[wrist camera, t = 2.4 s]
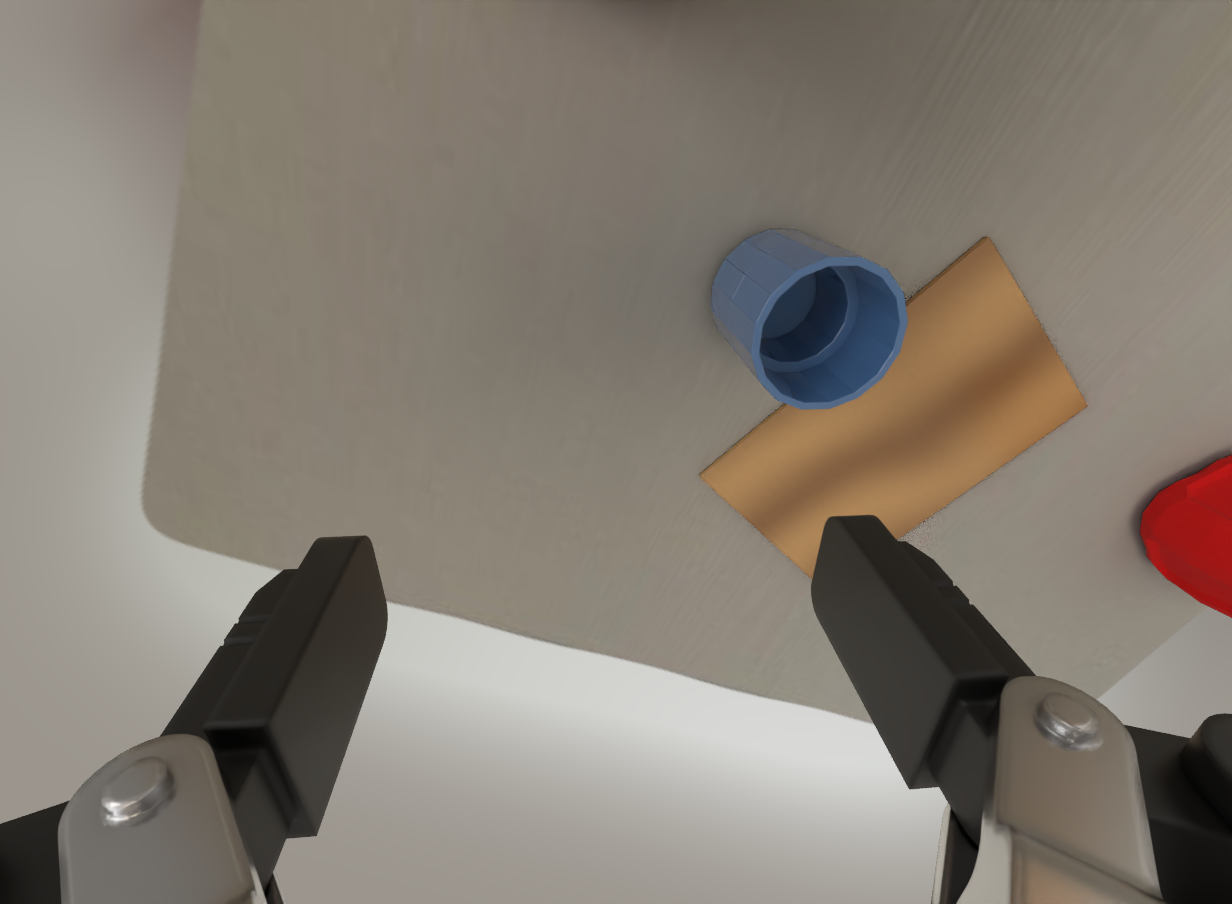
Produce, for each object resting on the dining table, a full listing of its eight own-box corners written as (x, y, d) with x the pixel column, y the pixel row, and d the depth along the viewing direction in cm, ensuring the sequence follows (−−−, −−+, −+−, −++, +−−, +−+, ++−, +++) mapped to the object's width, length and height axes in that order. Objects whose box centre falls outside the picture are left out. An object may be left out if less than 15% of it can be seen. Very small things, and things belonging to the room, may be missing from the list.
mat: (699, 474, 36) (700, 477, 36) (984, 235, 30) (989, 237, 30) (822, 586, 42) (824, 590, 41) (1083, 403, 36) (1088, 405, 36)
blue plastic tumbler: (683, 292, 30) (720, 339, 24) (781, 198, 29) (853, 219, 22) (757, 372, 33) (810, 436, 26) (851, 291, 31) (934, 336, 24)
